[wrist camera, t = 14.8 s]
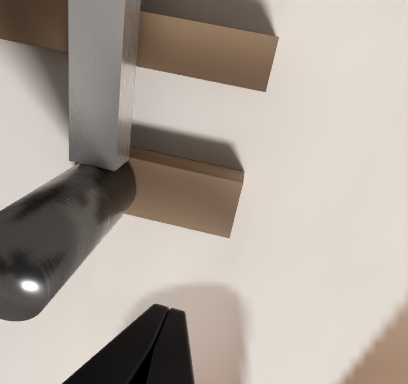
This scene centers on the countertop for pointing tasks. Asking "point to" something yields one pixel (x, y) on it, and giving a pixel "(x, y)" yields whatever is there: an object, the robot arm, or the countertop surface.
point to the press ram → (81, 173)
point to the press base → (177, 64)
